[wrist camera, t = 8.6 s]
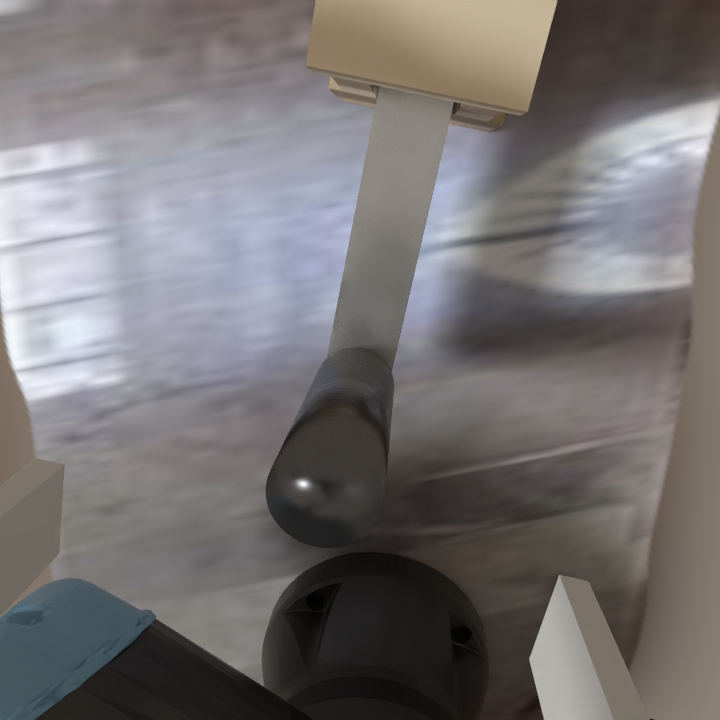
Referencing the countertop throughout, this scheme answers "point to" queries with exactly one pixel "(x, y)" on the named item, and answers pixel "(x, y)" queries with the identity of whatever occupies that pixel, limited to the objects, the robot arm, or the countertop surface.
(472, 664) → the robot arm
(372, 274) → the grey l-shaped piece
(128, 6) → the countertop surface
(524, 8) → the block
